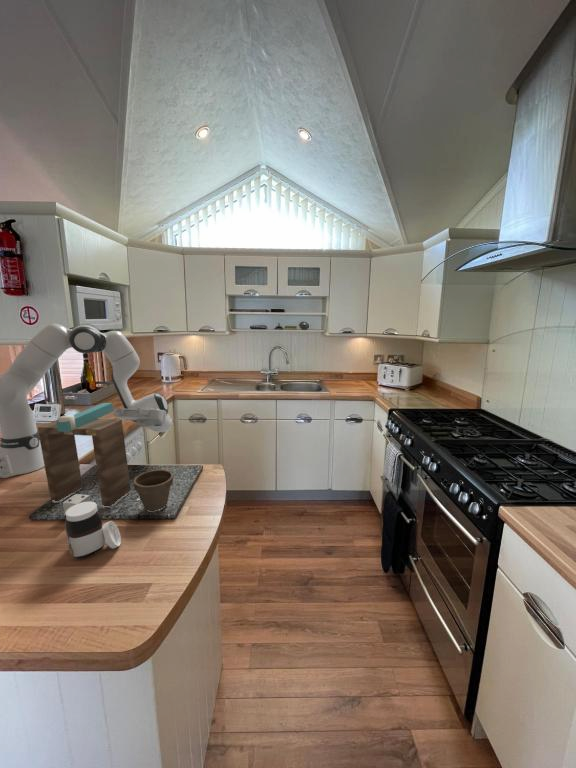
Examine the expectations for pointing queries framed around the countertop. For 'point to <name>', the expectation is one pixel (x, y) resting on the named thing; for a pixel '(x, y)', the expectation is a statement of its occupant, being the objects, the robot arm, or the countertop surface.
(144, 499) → the flower pot
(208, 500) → the countertop surface
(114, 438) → the walnut shelf
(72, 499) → the ivory die
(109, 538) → the spread jar
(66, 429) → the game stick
